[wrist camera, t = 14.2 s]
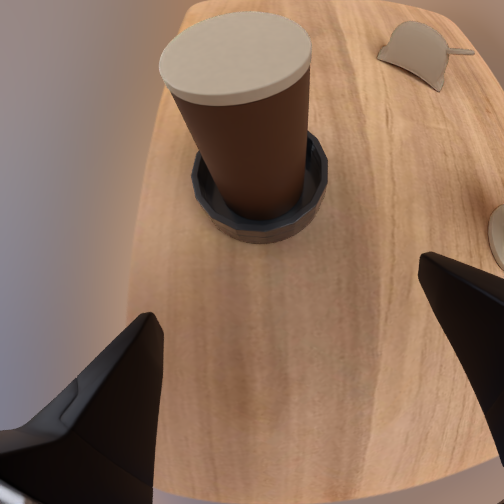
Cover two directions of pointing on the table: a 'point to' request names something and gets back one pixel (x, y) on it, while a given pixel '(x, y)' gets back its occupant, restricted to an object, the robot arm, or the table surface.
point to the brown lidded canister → (245, 105)
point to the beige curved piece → (420, 52)
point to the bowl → (271, 228)
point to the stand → (497, 235)
